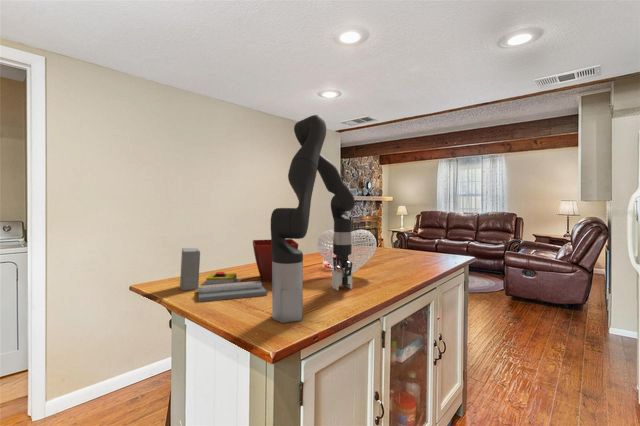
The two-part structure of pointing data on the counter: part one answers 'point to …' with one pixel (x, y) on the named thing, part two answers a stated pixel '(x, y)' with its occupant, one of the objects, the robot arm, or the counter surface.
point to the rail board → (231, 294)
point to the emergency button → (221, 278)
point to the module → (340, 279)
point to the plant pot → (266, 257)
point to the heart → (368, 256)
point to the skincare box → (190, 269)
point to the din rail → (230, 287)
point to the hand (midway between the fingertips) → (341, 283)
